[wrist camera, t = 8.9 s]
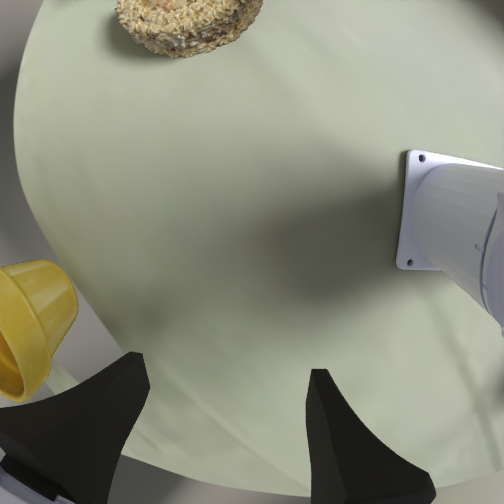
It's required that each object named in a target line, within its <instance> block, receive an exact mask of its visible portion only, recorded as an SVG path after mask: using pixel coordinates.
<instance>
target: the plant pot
mask: <svg viewBox="0 0 504 504" xmlns="http://www.w3.org/2000/svg"><path fill="white" fill-rule="evenodd" d="M77 313H78V300H77V295H76V292H75V289H74V287H73V285H72V282H71V281H70V279H69V277H68V276H67V275H66V273H65V272H64V271H63V270H62V269H61V268H60V267H59V266H58V265H57V264H55V263H54V262H52V261H50V260H47V259H38V260H33V261H28V262H23V263H17V264H13V265H8V266H3V267H0V394H1V395H3V396H4V397H6V398H7V399H9V400H11V401H15V402H24V401H26V400H28V399H29V398H30V397H31V396H32V394H34V392H35V391H36V390H37V389H38V388H39V387H40V385H41V384H42V383H43V382H44V381H45V379H46V378H47V377H48V375H49V373H50V370H51V358H52V356H53V354H54V353H55V351H56V349H57V348H58V346H59V344H60V343H61V341H62V340H63V338H64V336H65V335H66V333H67V332H68V330H69V328H70V327H71V325H72V324H73V322H74V321H75V319H76V316H77Z"/></svg>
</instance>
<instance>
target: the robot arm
mask: <svg viewBox="0 0 504 504" xmlns="http://www.w3.org/2000/svg"><path fill="white" fill-rule="evenodd" d="M420 154H421V155H422V156H423V161H422V162H420V161H419V155H420ZM410 259H411V263H410V264H409V265H407V262H408V260H410ZM396 265H397V266H398V268H400V269H402V270H438V271H442V272H443V273H445V274H446V275H447V276H448V277H449V278H450V279H452V280H453V281H454V282H455V283H456V284H457V285H458V286H460V287H461V288H462V289H463V290H464V291H465V292H466V293H467V294H469V295H470V296H471V297H472V298H473V299H474V300H475V301H476V302H477V303H478V304H479V305H481V306H482V307H483V308H484V309H485V310H486V311H487V312H488V313H489V314H490V315H491V316H492V317H493V318H494V319H495V320H496V321H497V322H498V323H499V324H500V325H501V328H502V336H503V337H504V169H503V168H499V167H495V166H491V165H488V164H484V163H479V162H475V161H471V160H467V159H462V158H458V157H453V156H448V155H443V154H438V153H433V152H427V151H421V150H410V151H408V153H407V159H406V177H405V190H404V202H403V211H402V220H401V228H400V236H399V243H398V250H397V256H396ZM149 390H150V384H149V380H148V376H147V372H146V367H145V363H144V359H143V354H142V353H136V352H129V353H127V354H125V355H124V356H123V357H121V358H120V359H118V360H117V361H115V362H114V363H112V364H111V365H109V366H108V367H106V368H105V369H103V370H102V371H100V372H99V373H97V374H96V375H94V376H92V377H91V378H89V379H87V380H86V381H84V382H82V383H80V384H79V385H77V386H75V387H73V388H71V389H69V390H67V391H65V392H62V393H60V394H58V395H55V396H52V397H50V398H46V399H44V400H41V401H37V402H34V403H29V404H25V405H20V406H12V407H4V408H0V447H1V448H2V449H3V451H4V452H5V453H6V455H5V456H4V458H3V457H2V456H1V455H0V504H107V500H108V495H109V491H110V487H111V483H112V479H113V475H114V472H115V469H116V466H117V462H118V460H119V457H120V454H121V451H122V448H123V446H124V444H125V442H126V440H127V438H128V436H129V434H130V432H131V430H132V428H133V426H134V424H135V422H136V420H137V418H138V417H139V415H140V413H141V411H142V409H143V407H144V404H145V402H146V399H147V396H148V393H149ZM306 429H307V437H308V445H309V454H310V462H311V504H430V503H431V502H432V501H433V500H434V499H435V497H436V491H435V487H434V484H433V482H432V479H431V478H430V475H429V473H428V472H426V471H424V470H422V469H420V468H418V467H417V466H415V465H413V464H411V463H409V462H408V461H406V460H405V459H403V458H402V457H400V456H399V455H397V454H396V453H395V452H394V451H392V450H391V449H390V448H389V447H387V446H386V445H385V444H384V443H382V442H381V441H380V440H379V439H378V438H377V437H376V436H375V435H374V434H373V433H372V432H371V431H370V430H369V429H368V428H367V427H366V426H365V425H364V423H363V422H362V421H361V420H360V419H359V417H358V416H357V415H356V414H355V412H354V411H353V410H352V408H351V407H350V406H349V404H348V403H347V401H346V400H345V398H344V397H343V395H342V394H341V392H340V391H339V389H338V387H337V386H336V384H335V382H334V381H333V379H332V377H331V375H330V373H329V371H328V370H327V369H312V370H311V376H310V381H309V387H308V393H307V398H306Z"/></svg>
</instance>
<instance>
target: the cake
mask: <svg viewBox="0 0 504 504" xmlns="http://www.w3.org/2000/svg"><path fill="white" fill-rule="evenodd" d="M117 3H118V5H116V6H117V8H115V10H116V12H117V15H118V16H119V17H118V18H117V19H118V20H119V19H120V21H119V23H120V24H121V25H123V28H125V29H126V31H128V33H129V34H130V35H131V39H133V41H134V42H136V41H137V45H139V43H141V44H142V43H144V44H145V46H144V47H146V48H148V50H150V51H151V52H152V53H153V50H154V52H155V53H156V54H158V53H159V54H160V55H162V54H167V55H168V56H169V57H171V58H178V57H179V56H180V55H182V56H183V57H186V58H187V57H192V56H194V55H195V54H197V53H208V52H211V50H214V49H216V47H217V46H220V47H221V46H222V45H224V44H229V43H230V42H232V41H235V40H236V39H237V38H239V37H240V34H242V32H243V31H245V30H247V28H248V26H250V25H251V24H252V23H253V22H254V21H255V17H256V16H257V15H258V13H259V12H260V8H261V7H262V4H263V0H117ZM135 38H136V39H135Z"/></svg>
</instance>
